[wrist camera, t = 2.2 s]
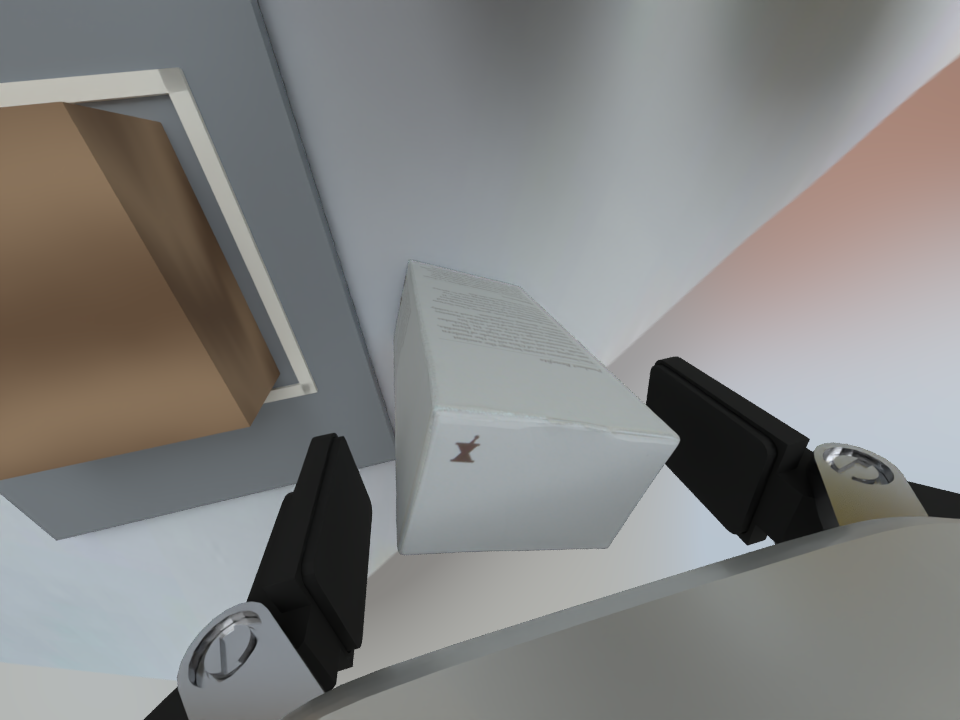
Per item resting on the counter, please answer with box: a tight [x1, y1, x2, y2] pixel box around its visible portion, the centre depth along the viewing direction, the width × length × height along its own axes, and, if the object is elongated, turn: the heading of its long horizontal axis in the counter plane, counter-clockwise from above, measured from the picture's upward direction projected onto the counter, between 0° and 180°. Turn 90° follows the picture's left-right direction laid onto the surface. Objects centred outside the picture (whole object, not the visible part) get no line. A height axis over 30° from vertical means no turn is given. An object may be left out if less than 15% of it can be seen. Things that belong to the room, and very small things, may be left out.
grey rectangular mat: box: [0, 0, 396, 541], centre depth 14 cm, size 24×18×1 cm
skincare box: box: [394, 260, 680, 555], centre depth 13 cm, size 6×4×12 cm
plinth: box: [0, 101, 280, 480], centre depth 12 cm, size 10×10×4 cm
